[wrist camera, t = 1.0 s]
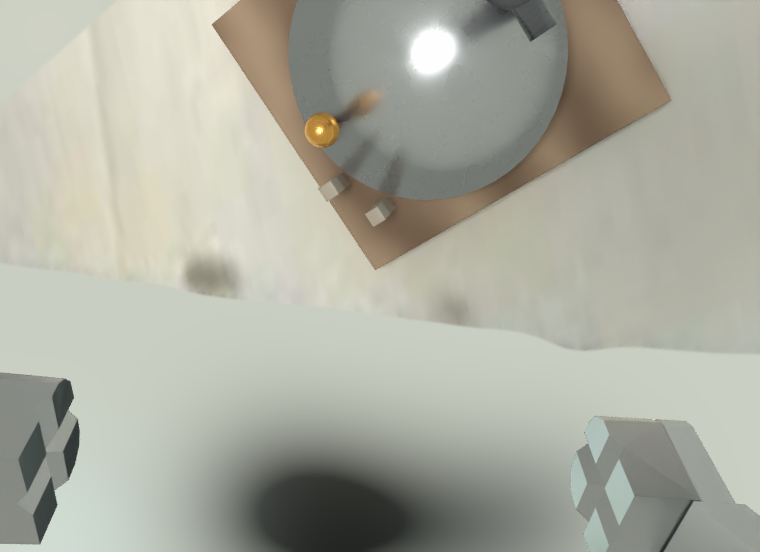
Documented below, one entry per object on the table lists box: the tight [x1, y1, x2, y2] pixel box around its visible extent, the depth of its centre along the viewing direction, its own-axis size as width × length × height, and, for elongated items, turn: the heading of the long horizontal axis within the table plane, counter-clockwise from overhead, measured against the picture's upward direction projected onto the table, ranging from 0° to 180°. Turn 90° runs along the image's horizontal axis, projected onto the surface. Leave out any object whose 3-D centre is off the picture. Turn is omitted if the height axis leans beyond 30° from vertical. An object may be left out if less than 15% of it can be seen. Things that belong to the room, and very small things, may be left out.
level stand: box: [212, 0, 671, 270], centre depth 42 cm, size 22×20×5 cm
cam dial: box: [288, 0, 568, 200], centre depth 35 cm, size 17×17×16 cm
